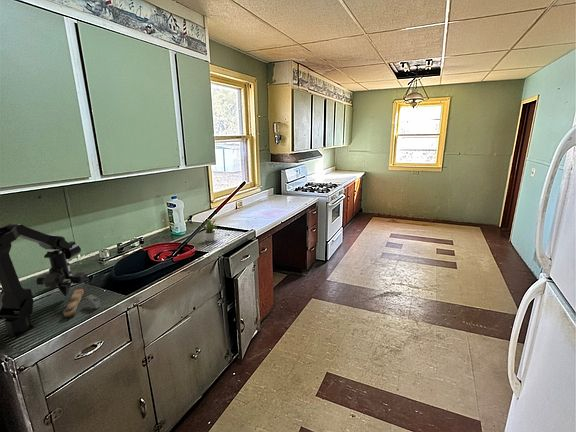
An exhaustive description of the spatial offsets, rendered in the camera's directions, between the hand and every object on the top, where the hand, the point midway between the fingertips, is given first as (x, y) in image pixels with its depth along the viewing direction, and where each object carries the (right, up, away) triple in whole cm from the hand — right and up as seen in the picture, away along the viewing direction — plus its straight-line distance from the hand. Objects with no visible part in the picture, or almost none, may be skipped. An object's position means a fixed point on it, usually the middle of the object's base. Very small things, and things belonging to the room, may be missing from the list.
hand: (66, 295), depth 135 cm
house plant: (+46, +19, +76) cm, 91 cm away
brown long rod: (+8, -3, -5) cm, 10 cm away
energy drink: (-12, +2, +16) cm, 20 cm away
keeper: (+16, -3, -5) cm, 17 cm away
